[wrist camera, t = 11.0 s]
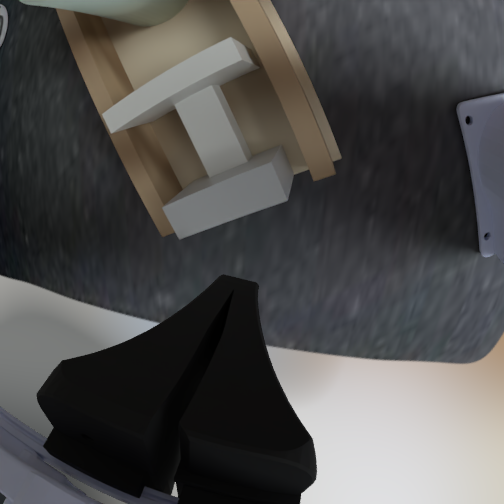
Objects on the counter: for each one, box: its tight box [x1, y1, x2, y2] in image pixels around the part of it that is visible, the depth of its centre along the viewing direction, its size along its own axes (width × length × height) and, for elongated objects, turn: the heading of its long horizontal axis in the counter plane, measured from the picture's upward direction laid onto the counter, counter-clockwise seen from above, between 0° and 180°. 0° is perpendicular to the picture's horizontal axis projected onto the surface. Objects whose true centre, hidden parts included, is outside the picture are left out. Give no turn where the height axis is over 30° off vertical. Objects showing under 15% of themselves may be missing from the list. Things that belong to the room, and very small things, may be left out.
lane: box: [56, 0, 342, 237], centre depth 11 cm, size 22×10×4 cm, turn 24°
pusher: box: [102, 37, 294, 240], centre depth 13 cm, size 6×6×4 cm
